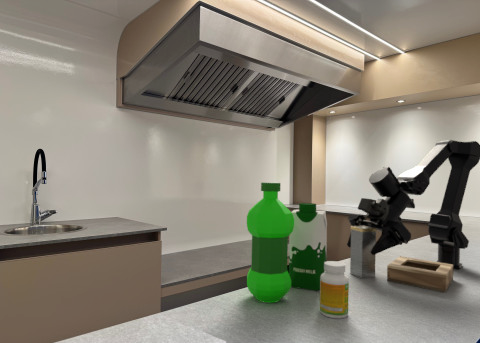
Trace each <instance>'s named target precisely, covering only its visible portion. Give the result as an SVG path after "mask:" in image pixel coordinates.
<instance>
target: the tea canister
mask: <svg viewBox="0 0 480 343" xmlns="http://www.w3.org/2000/svg"><path fill="white" fill-rule="evenodd" d="M377 232H378V230H377V228H373V227H368V226H351V225H350V234H351V247H350V265H349V266H350V268H349V273H350V274H351V275H353V276H355V277H357V278H360V279H367V278H368V279H369V278H375V277H376V255H377V254H375V255H372V254H371V253H370V252H371V250H372V248H373V247H374V245H375V244H376V242H377Z"/></svg>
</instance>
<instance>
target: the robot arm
mask: <svg viewBox="0 0 480 343" xmlns="http://www.w3.org/2000/svg"><path fill="white" fill-rule="evenodd" d="M447 159H448V161H449V164H450V166H451V168H450V173H449V176H448V179H447V183H446V187H445V191H444V194H443V195H444V196H443V198H442V202H441V206H440V209H439V211H438V212H437V213H431V214H430V217H429V222H428V223H427V227H428V229H427V230H428V234H429V239H430V243H431V244H436V245H437V261H436V262H440V263H446V264H452V265H453V269H455V270H460V269H461V268H462V266H463V263H462V262H461V260H460V258H461V256H460V255H461V249H462V250H465V249H468V247H469V243H470V240H469V239H468V238H467V236H466V235H465V234H464V233H463V222H462V220H461V217H460V211H461V208H462V204H463V200H464V196H465V192H466V188H467V184H468V181H469V176H470V173H471V171H472V169H474V167H476V166H477V165H478V164H479V162H480V143H479V142H478V141H476V140H475V141H474V140H473V141H457V140H453V139H449V140H438V141H437V142H436V143H435V146H433V148H432V149H431V150H429V152H428V153H427V154H426V155H425V156H424V157H423V159H421V161H420V162H419V163H418V164H416V166H414V167H413V168H410V169H408V170H405V171H404V172H402V173H401V174H400V175H398V176H396V175H395V174H394V172H393V170H392V169H391V167H390V166H384V167H382V168H381V169H379V170H376V171H374V173H372V174H371V175H370V176H369V178H368V182H369V183H370V184H371V185H372V187H373V188H374V190H375V191H376V192H377V194H378V195H379V196H380V197H381V198H378V199H377V200H375V199H371V198H367V197H365V198H363V197H361V199H360V202H359V204H358V207H357V210H359V211H362V212H364V213H365V214H366V215H365V216H364V215H363V214H358V213H351V214H349V216H348V218H347V221H348V222H349V225H350V227H351V226H368V227H373V228H377V232H378V231H379V232H381V233H380V234H381V235H380V236H379V238H378V240H376V244H375V245H374V247H373V248H372V250H371V252H370V253H371V254H372V255H375V254H376V255H377V254H379V253H382V252H384V251H386V250H388V249H390V248H391V249H392V248H394V247H396V246H402V245H403V244H405V245H407V244H408V243H409V242H410V240H411V239H412V233H411V232H410V231H409V229H408V228H407V226H406V225H405V223H403V221H402V220H403V219H402V218H401V216H402V214H403V213H404V211H406V209H407V208H408V209H415V208H416V204H415V200H414V198H411V197H410V196H412V195H415V196H421V195H423V194H424V193H425V191H426V190H427V188H428V187H429V186H430V183H431V182H430V181H431V180H430V179H431V177H432V176H433V175H434V173H436V172H437V171H438V170H439V168H440V167H441V166H442V165H443V164H444V163H445V162H446V161H447ZM409 195H410V196H409ZM384 198H385V199H384ZM366 217H367V218H368V219H369V220H368V219H367V218H366ZM346 245H347V248H351V233H350V234H349V237H348V241H347V244H346ZM376 255H375V256H376Z"/></svg>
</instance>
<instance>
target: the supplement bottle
mask: <svg viewBox="0 0 480 343" xmlns="http://www.w3.org/2000/svg"><path fill="white" fill-rule="evenodd" d="M324 270H325V272H324V273H322V274H321V276H320V291H319V313H320V314H322V315H323V316H324V317H327V318H329V319H330V318H331V319H344V318H346V317H348V315H349V295H350V294H349V292H350V291H349V290H350V289H349V287H350V285H349V284H350V282H349V281H350V279H349V277H348V275H347V274H345V273H346V263H344V262H341V261H336V260H326V262H324Z"/></svg>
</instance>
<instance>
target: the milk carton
mask: <svg viewBox="0 0 480 343" xmlns="http://www.w3.org/2000/svg"><path fill="white" fill-rule="evenodd" d="M291 212H292V214H293V217H294V228H293V232H292V233H291V234H290V235H289V236H288V238H289V239H288V273H289V275H290V278H291V288H294V289H295V288H296V289H302V290H309V291H310V290H312V291H317V292H318V291H319V292H320V276H321V274H322V273H324V272H325V270H324V262H327V249H328V248H327V243H328V242H327V240H328V235H327V234H328V231H327V230H328V229H327V227H328V220H327V216H326V215H327V214H326V213H327V212H326V210H317V203H313V202H311V203H310V202H301V203H300V202H299V204H298V209H293V210H292V211H291Z"/></svg>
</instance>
